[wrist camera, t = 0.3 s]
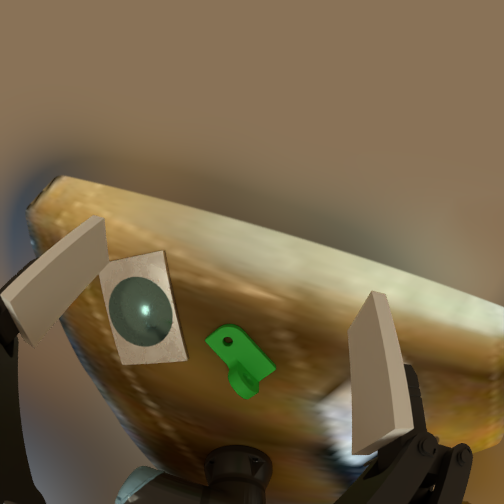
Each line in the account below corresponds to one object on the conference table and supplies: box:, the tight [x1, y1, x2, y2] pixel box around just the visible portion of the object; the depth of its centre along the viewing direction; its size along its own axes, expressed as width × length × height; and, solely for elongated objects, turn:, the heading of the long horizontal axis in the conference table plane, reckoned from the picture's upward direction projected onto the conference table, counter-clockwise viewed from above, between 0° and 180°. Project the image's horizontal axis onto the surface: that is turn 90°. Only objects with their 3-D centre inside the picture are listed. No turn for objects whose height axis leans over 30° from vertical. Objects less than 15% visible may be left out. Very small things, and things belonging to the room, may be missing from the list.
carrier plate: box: [99, 250, 189, 365], centre depth 46 cm, size 20×14×1 cm
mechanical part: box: [205, 324, 276, 399], centre depth 43 cm, size 12×6×8 cm, turn 40°
